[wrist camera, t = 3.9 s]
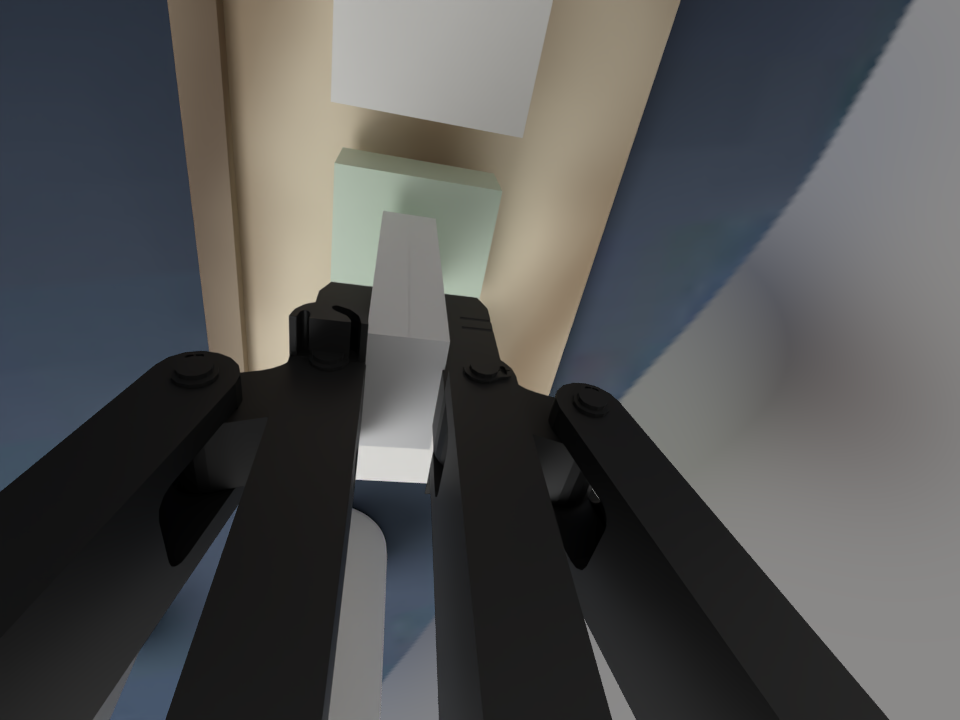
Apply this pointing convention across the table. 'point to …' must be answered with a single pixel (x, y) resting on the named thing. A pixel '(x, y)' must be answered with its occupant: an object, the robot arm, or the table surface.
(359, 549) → the pill bottle
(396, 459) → the white key
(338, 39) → the white key
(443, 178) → the key sage
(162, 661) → the table surface
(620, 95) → the keypad board
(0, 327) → the table surface
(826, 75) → the table surface
